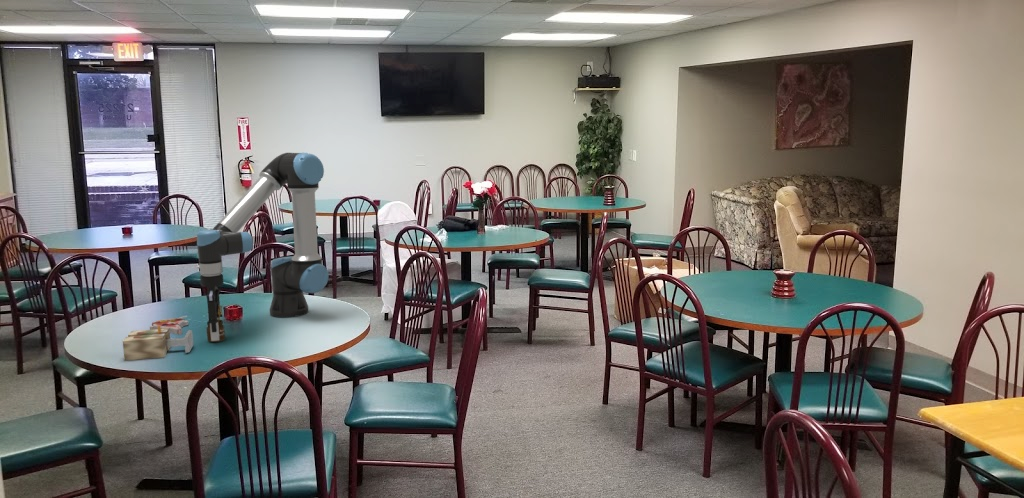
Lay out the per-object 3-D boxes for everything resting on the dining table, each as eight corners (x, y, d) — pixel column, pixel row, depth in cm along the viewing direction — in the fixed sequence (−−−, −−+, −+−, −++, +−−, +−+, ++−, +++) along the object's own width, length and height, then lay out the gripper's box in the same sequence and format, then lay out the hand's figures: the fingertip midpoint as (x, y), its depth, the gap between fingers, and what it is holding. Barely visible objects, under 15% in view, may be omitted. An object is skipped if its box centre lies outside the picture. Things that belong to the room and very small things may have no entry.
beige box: (170, 346, 268) (169, 327, 267) (163, 357, 256) (162, 337, 255) (133, 349, 265) (131, 330, 264) (124, 360, 253) (122, 340, 252)
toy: (186, 313, 303) (199, 324, 286) (187, 321, 303) (199, 333, 287) (145, 319, 294) (156, 331, 278) (146, 327, 295) (157, 340, 279)
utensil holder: (203, 341, 274) (200, 308, 272) (217, 337, 279) (214, 304, 277) (216, 343, 271) (213, 310, 269) (229, 338, 277) (226, 306, 275)
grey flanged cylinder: (193, 345, 268) (191, 320, 267) (189, 352, 260) (187, 326, 258) (149, 348, 265) (146, 323, 263) (143, 356, 256) (141, 330, 255)
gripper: (203, 270, 279) (208, 332, 283) (196, 280, 261) (201, 346, 265) (225, 268, 281) (230, 330, 285) (219, 278, 263) (224, 344, 267)
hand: (216, 337), depth 275 cm, fingers closed on utensil holder, 6 cm apart
